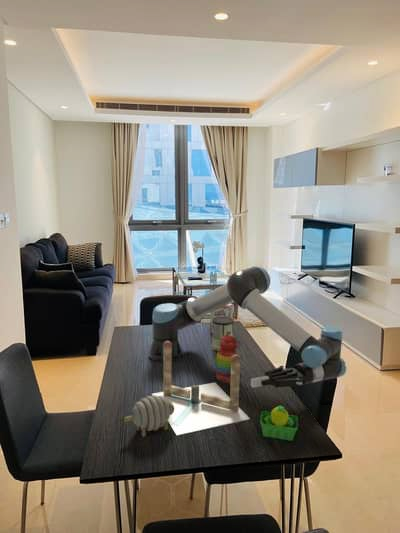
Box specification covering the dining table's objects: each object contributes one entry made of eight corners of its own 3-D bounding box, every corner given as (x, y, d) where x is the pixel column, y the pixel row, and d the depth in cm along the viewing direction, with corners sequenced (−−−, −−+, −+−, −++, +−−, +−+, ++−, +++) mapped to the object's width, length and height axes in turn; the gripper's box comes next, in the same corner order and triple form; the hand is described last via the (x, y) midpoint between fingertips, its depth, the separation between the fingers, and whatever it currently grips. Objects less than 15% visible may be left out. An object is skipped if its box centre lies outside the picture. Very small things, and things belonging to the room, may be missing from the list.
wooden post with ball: (161, 396, 153) (161, 341, 149) (165, 392, 156) (165, 338, 152) (196, 405, 147) (197, 348, 143) (200, 400, 150) (201, 345, 146)
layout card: (151, 394, 154) (151, 393, 154) (215, 383, 164) (215, 382, 163) (176, 435, 128) (176, 434, 128) (249, 419, 138) (249, 418, 138)
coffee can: (218, 341, 208) (219, 315, 205) (236, 346, 202) (237, 318, 200) (207, 348, 199) (208, 320, 196) (226, 353, 194) (227, 324, 191)
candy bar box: (209, 333, 220) (210, 303, 217) (213, 330, 225) (214, 301, 221) (229, 336, 216) (230, 306, 212) (232, 333, 220) (233, 304, 217)
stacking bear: (238, 384, 163) (239, 341, 159) (213, 381, 165) (214, 339, 161) (241, 372, 173) (242, 332, 170) (217, 370, 175) (218, 330, 172)
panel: (199, 403, 146) (200, 349, 142) (203, 399, 149) (204, 346, 145) (236, 413, 140) (239, 357, 136) (240, 408, 143) (242, 353, 139)
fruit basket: (296, 430, 133) (298, 397, 131) (296, 446, 124) (299, 412, 122) (261, 424, 135) (262, 393, 133) (258, 440, 127) (260, 406, 125)
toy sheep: (181, 429, 132) (182, 397, 130) (133, 447, 122) (133, 413, 120) (165, 414, 140) (165, 384, 138) (118, 430, 131) (118, 398, 129)
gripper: (318, 389, 146) (261, 402, 137) (296, 374, 158) (242, 384, 149) (320, 370, 145) (262, 381, 136) (297, 356, 157) (243, 365, 147)
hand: (252, 383), depth 142 cm, fingers closed
